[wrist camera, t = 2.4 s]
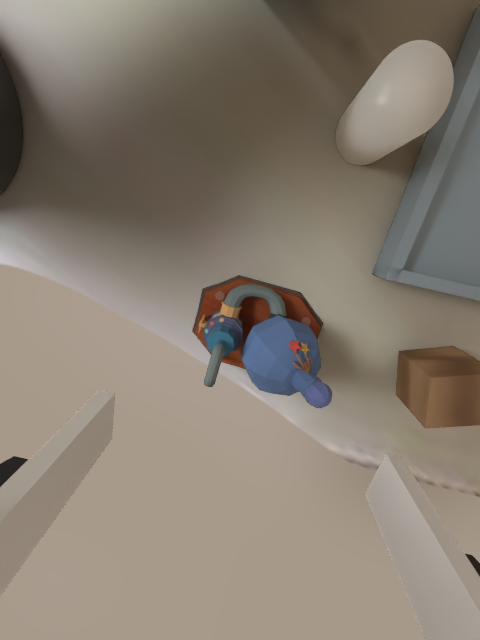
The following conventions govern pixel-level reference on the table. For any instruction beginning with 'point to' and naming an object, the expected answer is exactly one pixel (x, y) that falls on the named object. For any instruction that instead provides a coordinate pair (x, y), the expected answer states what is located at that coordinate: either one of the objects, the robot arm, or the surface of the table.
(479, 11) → the tray
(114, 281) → the table surface
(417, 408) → the walnut cube
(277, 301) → the model
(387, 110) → the white egg
